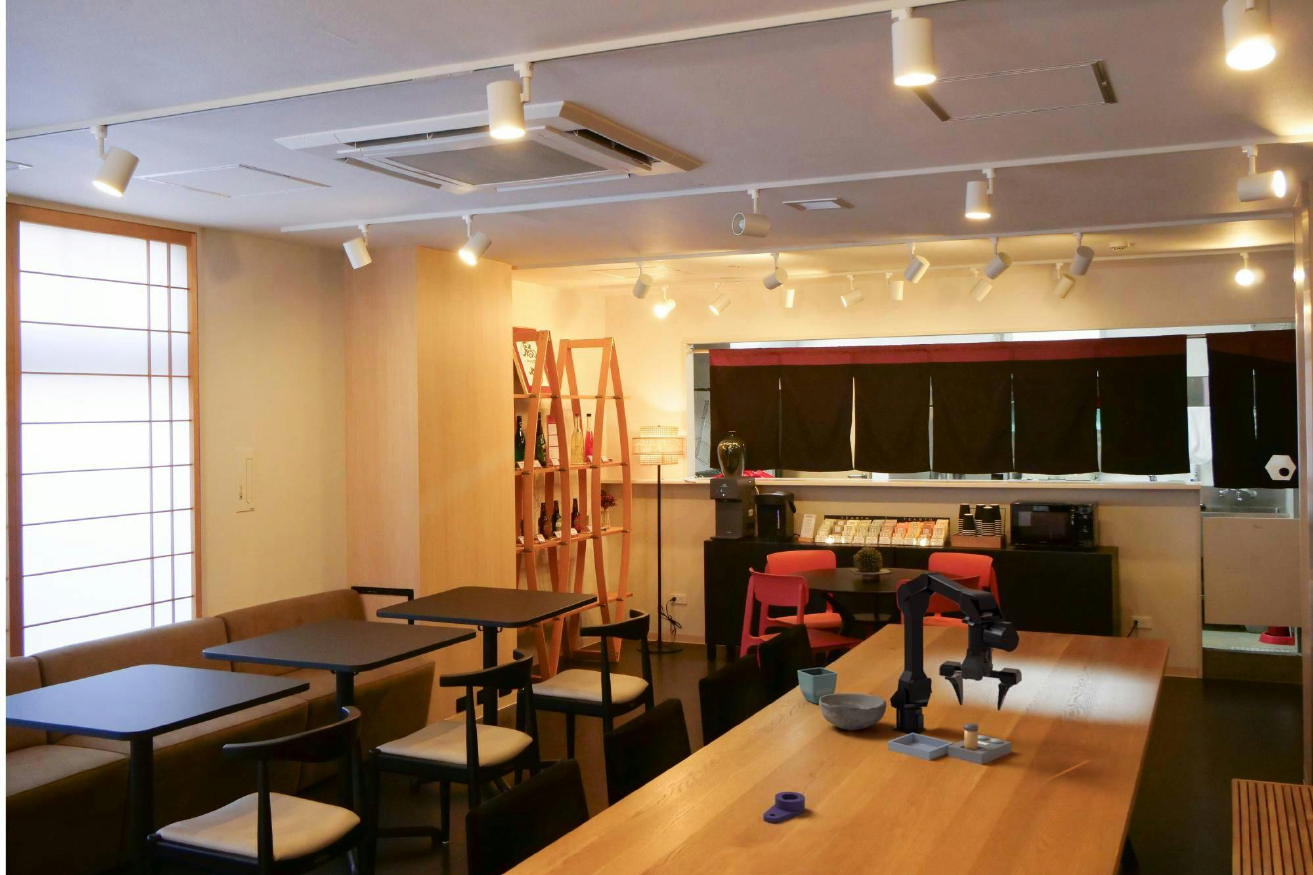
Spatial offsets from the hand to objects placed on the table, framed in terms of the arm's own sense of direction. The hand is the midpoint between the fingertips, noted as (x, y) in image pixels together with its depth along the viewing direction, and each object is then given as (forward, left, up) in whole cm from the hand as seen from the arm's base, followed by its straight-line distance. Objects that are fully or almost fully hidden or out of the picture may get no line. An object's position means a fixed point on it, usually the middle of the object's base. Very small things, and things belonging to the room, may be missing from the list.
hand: (979, 707), depth 260 cm
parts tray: (-13, -6, -12) cm, 19 cm away
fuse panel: (-1, +1, -12) cm, 12 cm away
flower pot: (-62, +14, -13) cm, 65 cm away
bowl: (-38, -1, -13) cm, 40 cm away
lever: (-9, -64, -13) cm, 66 cm away
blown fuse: (-1, -3, -12) cm, 12 cm away
